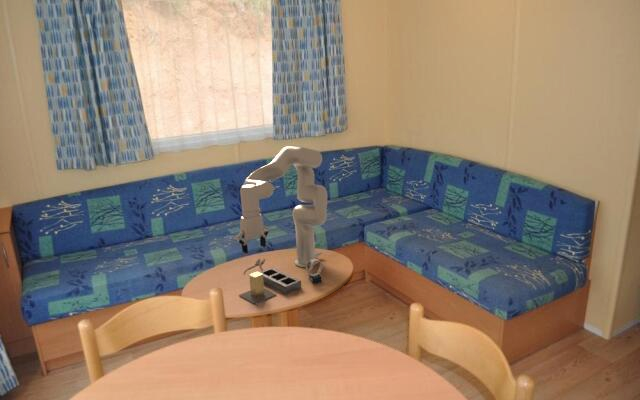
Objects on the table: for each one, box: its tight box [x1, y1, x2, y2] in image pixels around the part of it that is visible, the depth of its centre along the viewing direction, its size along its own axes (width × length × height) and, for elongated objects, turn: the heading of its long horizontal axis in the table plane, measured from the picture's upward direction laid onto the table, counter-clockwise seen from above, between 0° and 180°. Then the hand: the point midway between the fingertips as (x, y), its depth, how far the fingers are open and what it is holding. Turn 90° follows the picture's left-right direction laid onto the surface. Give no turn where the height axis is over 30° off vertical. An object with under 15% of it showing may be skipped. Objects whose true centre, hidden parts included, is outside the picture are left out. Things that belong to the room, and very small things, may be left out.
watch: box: [305, 258, 324, 285], centre depth 228 cm, size 6×8×11 cm
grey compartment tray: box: [258, 267, 302, 295], centre depth 228 cm, size 22×9×4 cm, turn 43°
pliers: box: [243, 258, 266, 275], centre depth 249 cm, size 10×1×20 cm
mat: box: [239, 287, 277, 305], centre depth 218 cm, size 12×12×1 cm
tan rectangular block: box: [248, 271, 265, 298], centre depth 216 cm, size 4×4×10 cm
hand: (254, 249), depth 212 cm, fingers open, 9 cm apart
